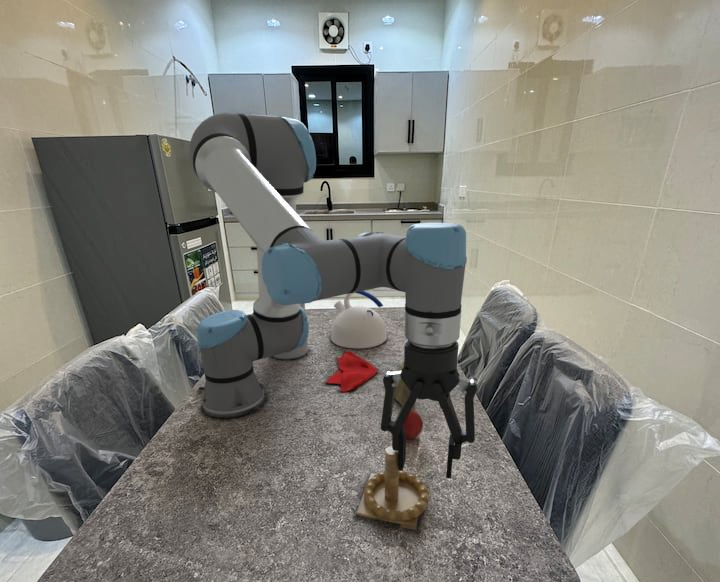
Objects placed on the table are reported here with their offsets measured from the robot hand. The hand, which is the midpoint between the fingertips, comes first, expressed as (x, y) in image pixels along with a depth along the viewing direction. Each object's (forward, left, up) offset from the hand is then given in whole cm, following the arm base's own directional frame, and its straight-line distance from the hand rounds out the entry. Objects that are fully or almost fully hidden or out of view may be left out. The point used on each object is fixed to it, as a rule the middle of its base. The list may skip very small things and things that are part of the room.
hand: (425, 468), depth 63 cm
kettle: (-32, +74, -9) cm, 81 cm away
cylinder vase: (-51, +56, -9) cm, 76 cm away
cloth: (-26, +48, -9) cm, 55 cm away
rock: (-10, +36, -9) cm, 38 cm away
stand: (-5, 0, -8) cm, 10 cm away
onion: (-5, +19, -9) cm, 21 cm away
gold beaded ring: (-5, 0, -6) cm, 8 cm away
